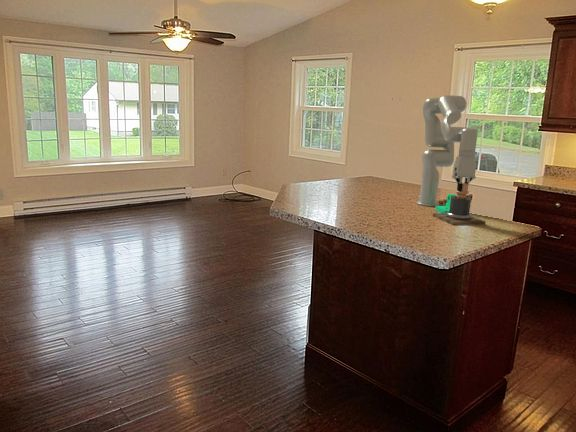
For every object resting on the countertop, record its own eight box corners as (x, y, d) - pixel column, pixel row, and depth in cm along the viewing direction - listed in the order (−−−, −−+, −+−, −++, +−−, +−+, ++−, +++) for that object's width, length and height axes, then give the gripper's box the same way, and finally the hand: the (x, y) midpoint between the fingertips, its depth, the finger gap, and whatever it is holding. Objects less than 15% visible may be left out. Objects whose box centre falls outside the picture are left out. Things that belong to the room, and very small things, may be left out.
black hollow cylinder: (441, 214, 249) (443, 195, 246) (462, 214, 251) (464, 195, 249) (454, 220, 237) (457, 200, 235) (476, 219, 240) (478, 200, 238)
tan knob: (451, 199, 244) (453, 182, 242) (462, 199, 246) (465, 182, 244) (458, 201, 238) (461, 184, 236) (470, 201, 240) (472, 184, 238)
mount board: (432, 216, 251) (433, 213, 251) (463, 215, 255) (464, 213, 255) (452, 224, 234) (452, 221, 234) (484, 224, 238) (485, 221, 238)
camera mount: (434, 210, 267) (436, 192, 264) (447, 210, 268) (449, 192, 266) (444, 215, 255) (447, 196, 253) (458, 215, 257) (460, 196, 254)
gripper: (476, 153, 243) (471, 189, 247) (447, 152, 239) (443, 189, 243) (485, 155, 235) (480, 192, 240) (456, 154, 232) (451, 192, 236)
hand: (462, 190), depth 241 cm, fingers closed on tan knob
